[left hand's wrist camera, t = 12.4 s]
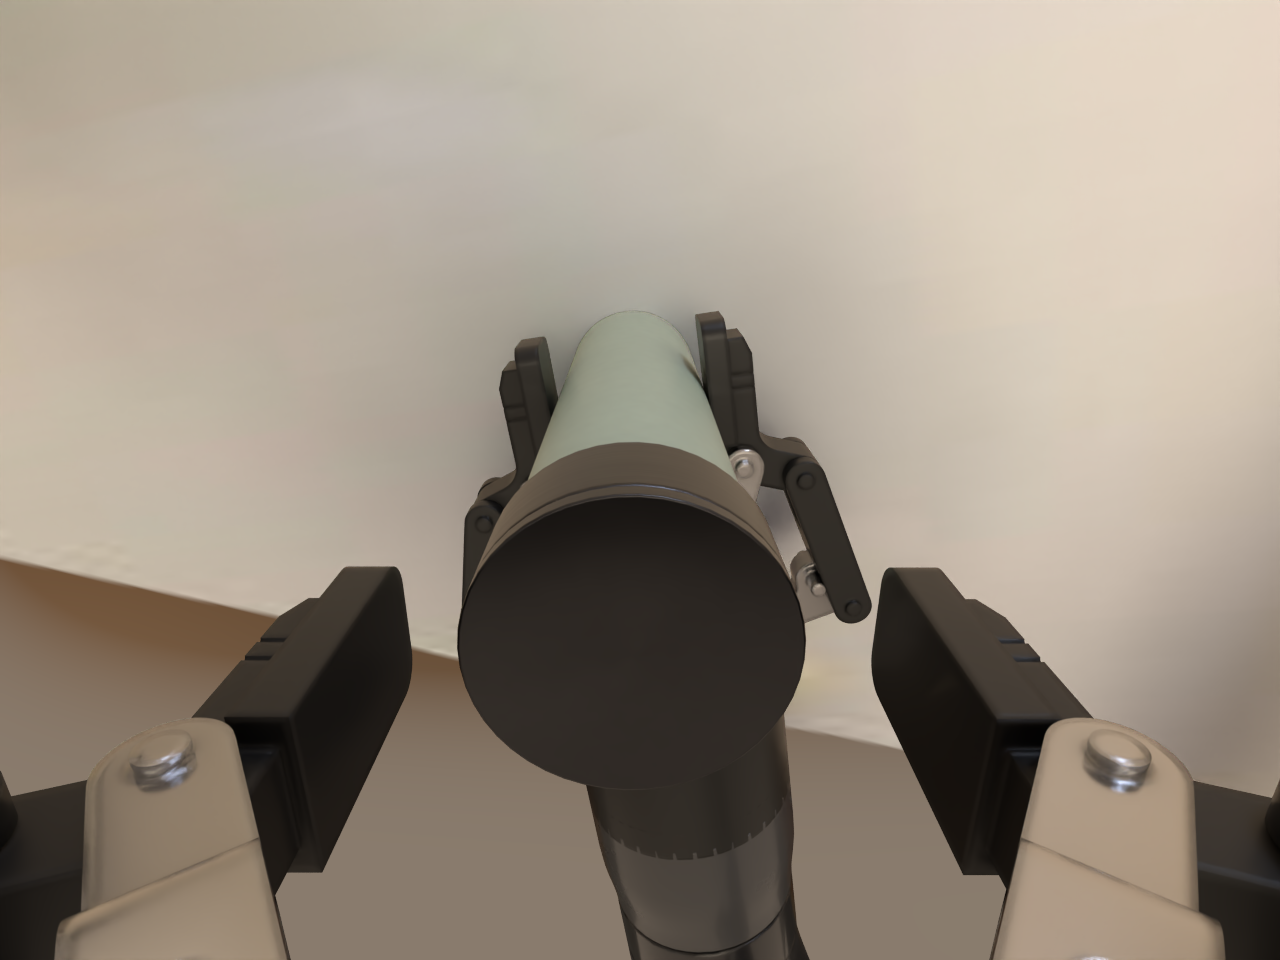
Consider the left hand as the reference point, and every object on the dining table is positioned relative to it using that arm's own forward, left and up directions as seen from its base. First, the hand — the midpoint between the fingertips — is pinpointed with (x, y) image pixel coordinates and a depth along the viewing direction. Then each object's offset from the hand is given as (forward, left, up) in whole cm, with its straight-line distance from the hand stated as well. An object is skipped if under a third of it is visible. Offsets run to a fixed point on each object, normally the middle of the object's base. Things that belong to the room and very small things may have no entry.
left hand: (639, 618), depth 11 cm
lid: (0, 0, 0) cm, 0 cm away
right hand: (0, +3, -12) cm, 12 cm away
